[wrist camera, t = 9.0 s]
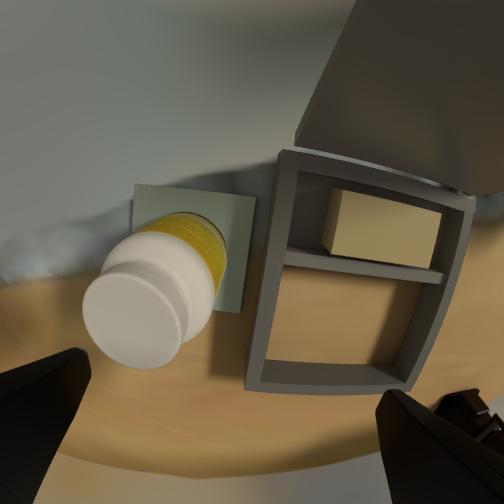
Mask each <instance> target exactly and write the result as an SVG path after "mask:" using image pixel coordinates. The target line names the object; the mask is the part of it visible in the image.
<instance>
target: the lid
mask: <svg viewBox="0 0 504 504" xmlns="http://www.w3.org/2000/svg"><path fill="white" fill-rule="evenodd" d="M294 146H298V147H303V148H308V149H314V150H319V151H324V152H328V153H333V154H338V155H342V156H347V157H351V158H355V159H359V160H363V161H367V162H371V163H375V164H379V165H382V166H386V167H390V168H393V169H397V170H400V171H403V172H407V173H410V174H413V175H417V176H420V177H423V178H426V179H429V180H432V181H435V182H438V183H441V184H444V185H446V186H449V187H452V188H455V189H457V190H460V191H463V192H465V193H468V194H471V195H473V196H476V197H477V196H482V195H487V194H491V193H496V192H501V191H504V0H356V2H355V4H354V6H353V8H352V10H351V12H350V14H349V17H348V19H347V21H346V23H345V25H344V27H343V30H342V32H341V34H340V36H339V38H338V40H337V43H336V45H335V47H334V49H333V51H332V54H331V56H330V58H329V60H328V62H327V64H326V66H325V68H324V71H323V73H322V75H321V77H320V80H319V82H318V84H317V86H316V88H315V90H314V93H313V95H312V97H311V99H310V101H309V104H308V106H307V108H306V110H305V112H304V115H303V117H302V119H301V121H300V124H299V126H298V128H297V130H296V133H295V142H294Z"/></svg>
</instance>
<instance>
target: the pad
mask: <svg viewBox="0 0 504 504" xmlns="http://www.w3.org/2000/svg"><path fill="white" fill-rule="evenodd" d="M255 202H256V197H252V196H244V195H237V194H229V193H221V192H213V191H204V190H195V189H186V188H176V187H166V186H155V185H143V184H135V188H134V201H133V217H132V234H133V233H135V232H137V231H139V230H141V229H143V228H144V227H146V226H148V225H150V224H152V223H153V222H155V221H157V220H159V219H161V218H163V217H165V216H167V215H169V214H172V213H176V212H181V211H189V212H195V213H199V214H202V215H204V216H206V217H207V218H209V219H210V220H212V221H213V222H214V223H215V224H216V225H217V226H218V227H219V228H220V230H221V231H222V233H223V235H224V237H225V239H226V242H227V247H228V261H227V266H226V269H225V272H224V275H223V278H222V281H221V284H220V287H219V290H218V293H217V296H216V299H215V303H214V306H213V309H212V310H216V311H223V312H230V313H238V314H240V308H241V301H242V294H243V287H244V280H245V273H246V266H247V258H248V251H249V244H250V237H251V230H252V223H253V216H254V209H255Z"/></svg>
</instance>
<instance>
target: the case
mask: <svg viewBox="0 0 504 504" xmlns="http://www.w3.org/2000/svg"><path fill="white" fill-rule="evenodd" d="M475 204H476V201H475V200H473V199H470V198H467V197H465V196H462V195H459V194H457V193H454V192H451V191H448V190H445V189H442V188H439V187H436V186H433V185H430V184H427V183H424V182H421V181H418V180H414V179H411V178H408V177H404V176H401V175H397V174H394V173H390V172H387V171H383V170H379V169H375V168H371V167H367V166H363V165H359V164H355V163H351V162H346V161H342V160H337V159H333V158H328V157H323V156H318V155H313V154H308V153H302V152H297V151H291V150H285V149H283V150H282V151H280V152H279V154H278V161H277V168H276V174H275V181H274V188H273V195H272V201H271V208H270V215H269V221H268V228H267V234H266V241H265V247H264V253H263V260H262V266H261V273H260V279H259V285H258V291H257V298H256V304H255V310H254V316H253V322H252V328H251V334H250V341H249V347H248V353H247V358H246V364H245V379H244V390H246V391H256V392H267V393H280V394H299V395H368V394H384V392H385V391H386V390H388V389H400V390H401V391H403V392H409V391H411V389H412V387H413V385H414V383H415V381H416V380H417V378H418V376H419V374H420V372H421V370H422V368H423V366H424V364H425V362H426V359H427V357H428V355H429V353H430V351H431V349H432V346H433V344H434V342H435V340H436V337H437V335H438V333H439V330H440V328H441V325H442V323H443V320H444V318H445V315H446V312H447V310H448V307H449V304H450V301H451V298H452V295H453V292H454V289H455V286H456V283H457V280H458V277H459V273H460V270H461V267H462V263H463V259H464V256H465V252H466V248H467V244H468V239H469V235H470V230H471V226H472V221H473V216H474V210H475ZM283 264H285V265H293V266H300V267H308V268H315V269H323V270H331V271H339V272H346V273H354V274H362V275H370V276H378V277H386V278H394V279H402V280H410V281H418V282H424V285H423V288H422V292H421V295H420V298H419V301H418V304H417V307H416V309H415V312H414V315H413V318H412V321H411V323H410V326H409V328H408V331H407V334H406V336H405V339H404V341H403V344H402V346H401V348H400V351H399V353H398V355H397V358H396V360H395V362H394V364H383V365H353V364H321V363H303V362H289V361H277V360H266V359H265V356H266V352H267V347H268V342H269V337H270V332H271V327H272V322H273V317H274V312H275V307H276V301H277V296H278V291H279V285H280V280H281V275H282V269H283Z"/></svg>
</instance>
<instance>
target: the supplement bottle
mask: <svg viewBox="0 0 504 504" xmlns="http://www.w3.org/2000/svg"><path fill="white" fill-rule="evenodd" d="M227 261H228V247H227V242H226V239H225V237H224V235H223V233H222V231H221V230H220V228H219V227H218V226H217V225H216V224H215V223H214V222H213V221H212V220H210V219H209V218H207V217H206V216H204V215H202V214H199V213H195V212H189V211H181V212H176V213H172V214H169V215H167V216H165V217H163V218H161V219H159V220H157V221H155V222H153V223H152V224H150V225H148V226H146V227H144V228H143V229H141V230H139V231H137V232H135V233H133V234H131V235H129V236H128V237H126V238H125V239H124V240H122V241H121V242H119V243H118V244H117V245H116V246H115V247H114V248H113V249H112V250H111V251H110V253H109V254H108V256H107V257H106V259H105V261H104V264H103V266H102V270H101V275H100V276H99V277H97V278H96V279H95V280H94V281H93V282H92V283H91V284H90V285H89V287H88V288H87V290H86V292H85V295H84V298H83V304H82V313H83V319H84V323H85V326H86V328H87V331H88V333H89V335H90V336H91V338H92V340H93V341H94V342H95V344H96V345H97V346H98V347H99V348H100V349H101V350H102V351H103V352H104V353H105V354H106V355H107V356H109V357H110V358H111V359H113V360H115V361H116V362H118V363H120V364H122V365H125V366H128V367H131V368H135V369H145V370H146V369H154V368H158V367H161V366H163V365H165V364H167V363H168V362H169V361H170V360H171V359H172V358H173V357H174V356H175V355H176V354H177V352H178V350H179V348H180V346H181V344H182V343H185V342H187V341H189V340H191V339H192V338H194V337H195V336H196V335H197V334H199V333H200V331H201V330H202V329H203V328H204V326H205V325H206V323H207V322H208V320H209V318H210V315H211V312H212V309H213V306H214V303H215V299H216V296H217V293H218V290H219V287H220V284H221V281H222V278H223V275H224V272H225V269H226V266H227Z"/></svg>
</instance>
